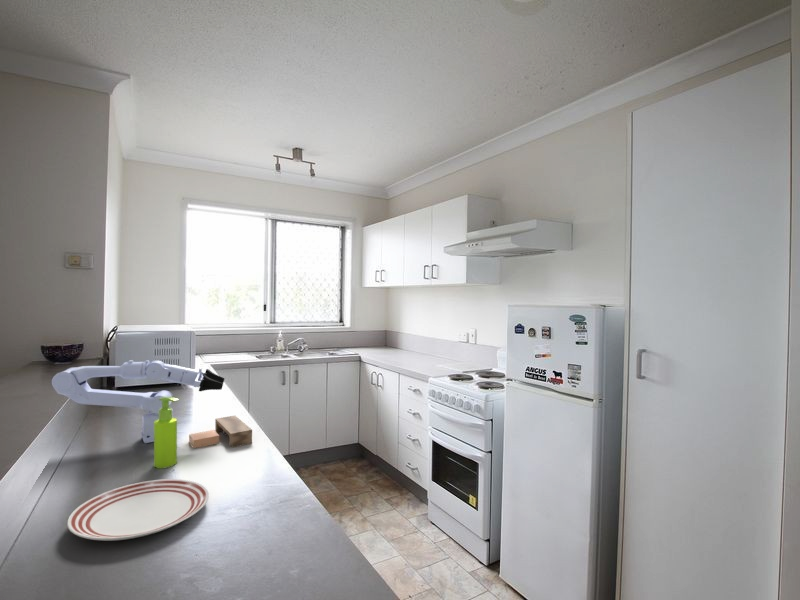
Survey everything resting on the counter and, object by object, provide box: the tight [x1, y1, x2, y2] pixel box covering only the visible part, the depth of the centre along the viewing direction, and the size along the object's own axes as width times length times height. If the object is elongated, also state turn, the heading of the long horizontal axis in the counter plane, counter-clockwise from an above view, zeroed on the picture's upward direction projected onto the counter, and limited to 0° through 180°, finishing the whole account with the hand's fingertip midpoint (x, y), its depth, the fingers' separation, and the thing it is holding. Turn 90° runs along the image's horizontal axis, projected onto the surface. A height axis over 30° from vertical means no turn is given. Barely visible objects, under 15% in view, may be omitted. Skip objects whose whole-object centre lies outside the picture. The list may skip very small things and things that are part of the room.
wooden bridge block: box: [214, 415, 253, 448], centre depth 149 cm, size 7×20×5 cm, turn 37°
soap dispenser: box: [153, 396, 180, 469], centre depth 125 cm, size 6×7×20 cm
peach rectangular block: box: [188, 429, 220, 449], centre depth 144 cm, size 8×7×3 cm
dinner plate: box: [66, 478, 210, 542], centre depth 97 cm, size 27×27×3 cm
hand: (223, 383), depth 155 cm, fingers open, 7 cm apart
